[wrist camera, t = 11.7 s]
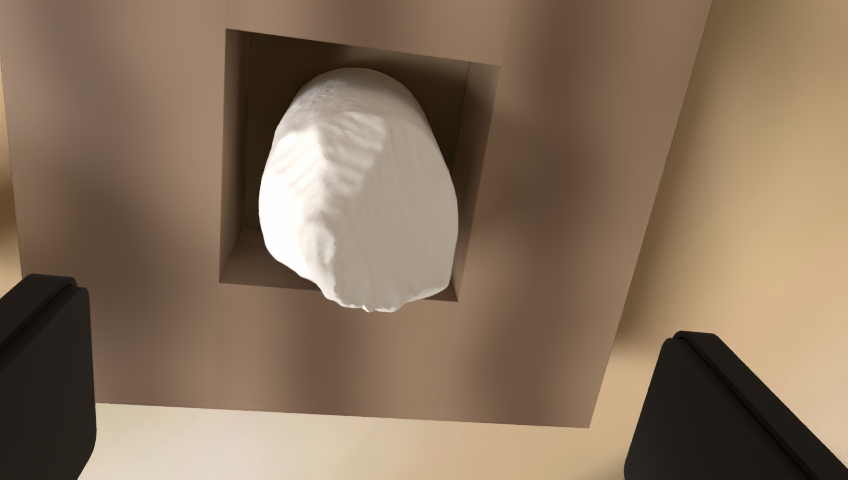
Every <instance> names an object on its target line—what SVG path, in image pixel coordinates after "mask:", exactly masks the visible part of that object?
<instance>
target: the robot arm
mask: <svg viewBox="0 0 848 480" xmlns="http://www.w3.org/2000/svg"><path fill="white" fill-rule="evenodd" d="M96 431H97V429H96V411H95V392H94V373H93V355H92V336H91V318H90V299H89V293H88V290H87V289H86V288H85V287H78V285H77V283H76V280H75V279H74V278H73V277H67V276H56V275H45V274H33V273H31V274H29V275H27V276H26V277H25V278H24V279H23V280H21V281H20V282H19V283H18V284H17V285H16V286H14V287H13V288H12V289H11V290H10V291H9V292H8V293H6V294H5V295H4V296H3V297H2V298H1V299H0V480H77V479H78V477H79V476H80V474H81V472H82V470H83V469H84V467H85V465H86V464H87V462H88V460H89V458H90V456H91V454H92V452H93V449H94V446H95V442H96ZM624 478H625V480H848V469H847V467H846V466H845V465H844V464H843V463H842V462H841V461H840V460H839V459H838V458H837V457H836V456H835V455H834V454H833V453H832V452H831V451H830V450H829V449H828V448H827V447H826V446H825V445H824V444H823V443H822V442H821V441H820V440H819V439H818V438H817V437H816V436H815V435H814V434H813V433H812V432H811V431H810V430H809V429H808V428H807V427H806V426H805V425H804V424H803V423H802V422H801V421H800V420H799V419H798V418H797V417H796V416H795V415H794V414H793V413H792V412H791V410H790V409H789V408H788V407H787V406H786V405H785V404H784V403H783V402H782V401H781V400H780V399H779V398H778V397H777V396H776V395H775V394H774V393H773V392H772V391H771V390H770V389H769V388H768V387H767V386H766V385H765V384H764V383H763V382H762V381H761V380H760V379H759V378H758V377H757V376H756V375H755V374H754V373H753V372H752V371H751V370H750V369H749V368H748V367H747V366H746V365H745V364H744V363H743V362H742V361H741V360H740V359H739V358H738V357H737V356H736V355H735V353H734V352H733V351H732V350H731V349H730V348H729V347H728V346H727V345H726V344H725V343H724V342H723V341H722V340H721V339H720V338H719V337H718V336H716V335H715V334H712V333H701V332H690V331H679V332H677V333H676V334H675V335H674V336H673V338H668V339H666V340H665V342H664V343H663V345H662V348H661V351H660V354H659V357H658V360H657V363H656V367H655V370H654V373H653V376H652V379H651V382H650V385H649V389H648V392H647V395H646V398H645V401H644V404H643V407H642V411H641V414H640V417H639V420H638V423H637V426H636V429H635V433H634V436H633V439H632V442H631V445H630V448H629V451H628V455H627V458H626V461H625V465H624Z"/></svg>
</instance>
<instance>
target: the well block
mask: <svg viewBox="0 0 848 480" xmlns="http://www.w3.org/2000/svg"><path fill="white" fill-rule="evenodd" d="M712 2H713V0H0V62H1V72H2V82H3V92H4V102H5V112H6V122H7V132H8V142H9V152H10V162H11V172H12V182H13V192H14V202H15V212H16V223H17V233H18V243H19V253H20V263H21V273H22V280H23V279H24V278H25V277H26V276H27V275H29V274H31V273H33V274H45V275H56V276H67V277H73V278H74V279H75V280H76V283H77V285H78V287H85V288H86V289H87V290H88V293H89V299H90V318H91V336H92V355H93V373H94V392H95V403H110V404H129V405H148V406H168V407H187V408H206V409H226V410H245V411H264V412H284V413H303V414H322V415H342V416H361V417H380V418H400V419H419V420H438V421H458V422H477V423H496V424H516V425H535V426H555V427H574V428H589V425H590V422H591V419H592V415H593V412H594V408H595V405H596V401H597V398H598V394H599V391H600V388H601V384H602V381H603V377H604V374H605V370H606V367H607V363H608V360H609V357H610V353H611V350H612V346H613V343H614V339H615V336H616V332H617V329H618V326H619V322H620V319H621V315H622V312H623V308H624V305H625V301H626V298H627V295H628V291H629V288H630V284H631V281H632V277H633V274H634V270H635V267H636V264H637V260H638V257H639V253H640V250H641V246H642V243H643V239H644V236H645V232H646V229H647V226H648V222H649V219H650V215H651V212H652V208H653V205H654V201H655V198H656V195H657V191H658V188H659V184H660V181H661V177H662V174H663V170H664V167H665V164H666V160H667V157H668V153H669V150H670V146H671V143H672V139H673V136H674V133H675V129H676V126H677V122H678V119H679V115H680V112H681V108H682V105H683V102H684V98H685V95H686V91H687V88H688V84H689V81H690V77H691V74H692V71H693V67H694V64H695V60H696V57H697V53H698V50H699V46H700V43H701V40H702V36H703V33H704V29H705V26H706V22H707V19H708V15H709V12H710V8H711V5H712ZM251 32H257V33H264V34H272V35H279V36H286V37H294V38H301V39H308V40H315V41H323V42H330V43H337V44H345V45H352V46H359V47H367V48H374V49H381V50H389V51H396V52H403V53H411V54H418V55H425V56H433V57H440V58H447V59H454V60H462V61H469V62H470V66H469V72H468V78H467V84H466V91H465V97H464V103H463V109H462V115H461V121H460V127H459V133H458V139H457V145H456V152H455V158H454V164H453V170H452V176H451V180H452V183H453V186H454V189H455V194H456V198H457V208H458V237H457V242H456V246H455V253H454V258H453V265H452V272H451V277H450V282H449V285H448V286H447V287H446V288H445V289H444V290H442V291H440V292H439V293H437V294H434V295H432V296H429V297H426V298H423V299H418V300H414V301H412V302H407V303H405V304H404V305H403V306H401V308H400V309H398V310H396V311H394V312H381V311H377V310H374V311H372V312H367V311H366V310H364V309H363V308H349V307H343V306H341V305H339V304H338V303H337V302H336V301H333V300H329V299H327V298H326V297H325V296H324V294H323V292H322V291H321V289H320V288H319V287H318V285H317V284H316V283H314V282H313V281H311V280H309V279H306V278H303V277H301V276H300V275H298V274H297V273H296V272H295V271H294V270H292V269H291V268H289V267H288V266H286V265H284V264H283V263H281V262H279V261H277V260H276V259H275V258H274V257H273V256H272V255H271V254H270V252H269V251H268V249H267V247H266V245H265V241H264V236H263V233H262V229H256V228H245V227H243V214H244V190H245V165H246V140H247V115H248V90H249V66H250V41H251Z"/></svg>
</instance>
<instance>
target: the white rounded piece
mask: <svg viewBox="0 0 848 480" xmlns="http://www.w3.org/2000/svg"><path fill="white" fill-rule="evenodd" d="M259 217H260V224H261V229H262V233H263V236H264V241H265V245H266V247H267V249H268V251H269V252H270V254H271V255H272V256H273V257H274V258H275V259H276V260H277V261H279V262H281V263H283V264H284V265H286V266H288V267H289V268H291V269H292V270H294V271H295V272H296V273H297V274H298V275H300V276H301V277H303V278H306V279H309V280H311V281H313V282H314V283H316V284H317V285H318V287H319V288H320V289H321V291H322V292H323V294H324V296H325V297H326V298H327V299H329V300H333V301H336V302H337V303H338V304H339V305H341V306H343V307H349V308H363V309H364V310H366V311H367V312H372V311H374V310H377V311H381V312H394V311H396V310H398V309H400V308H401V306H403V305H404V304H405V303H407V302H412V301H414V300H418V299H423V298H426V297H429V296H432V295H434V294H437V293H439V292H440V291H442V290H444V289H445V288H446V287H447V286H448V285H449V282H450V277H451V272H452V265H453V258H454V253H455V246H456V242H457V237H458V208H457V198H456V194H455V189H454V186H453V183H452V180H451V177H450V174H449V170H448V168H447V166H446V164H445V161H444V159H443V156H442V154H441V152H440V149H439V146H438V144H437V142H436V140H435V138H434V135H433V133H432V130H431V126H430V124H429V122H428V120H427V117H426V115H425V113H424V112H423V110H422V108H421V106H420V104H419V103H418V101H417V100H416V98H415V97H414V96H413V95H412V94H411V92H410V91H409V90H408V89H407V88H406V87H405V86H403V85H402V84H401V83H399V82H398V81H397V80H395V79H393V78H392V77H390V76H388V75H386V74H383V73H381V72H378V71H374V70H371V69H366V68H340V69H335V70H332V71H329V72H326V73H323V74H320V75H318V76H316V77H315V78H313V79H311V80H309V81H308V82H307V83H305V84H304V85H303V86H302V87H301V89H300V90H299V91H298V92H297V94H296V95H295V97H294V99H293V101H292V102H291V104H290V106H289V108H288V110H287V111H286V113H285V115H284V116H283V118H282V120H281V122H280V123H279V125H278V127H277V129H276V131H275V135H274V139H273V142H272V149H271V151H270V154H269V157H268V160H267V163H266V166H265V170H264V173H263V176H262V180H261V187H260V193H259Z"/></svg>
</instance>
